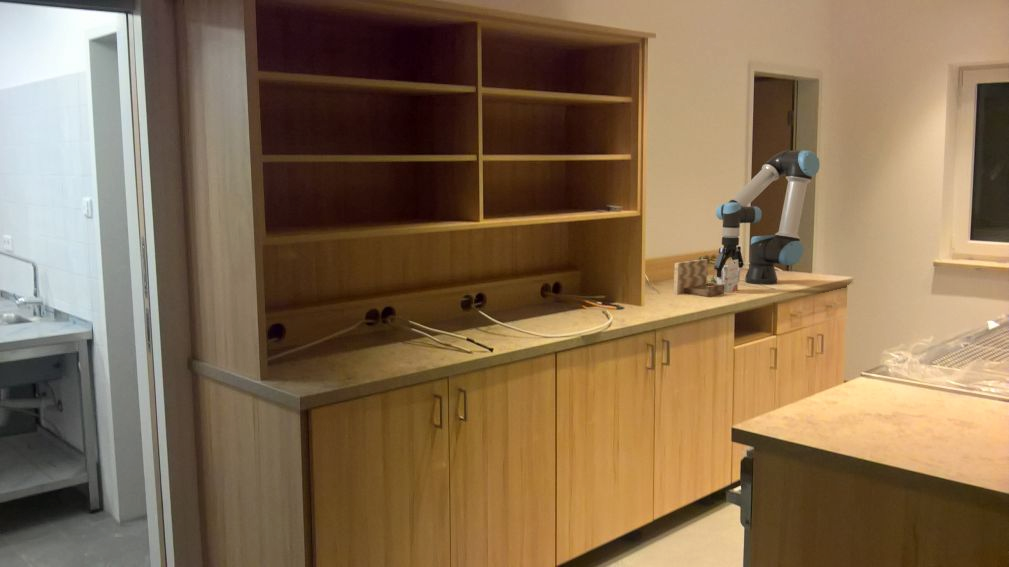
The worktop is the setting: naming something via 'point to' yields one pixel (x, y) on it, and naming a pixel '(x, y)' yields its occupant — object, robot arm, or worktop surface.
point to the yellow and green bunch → (711, 278)
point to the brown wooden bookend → (694, 279)
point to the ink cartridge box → (730, 276)
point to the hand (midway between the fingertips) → (728, 282)
